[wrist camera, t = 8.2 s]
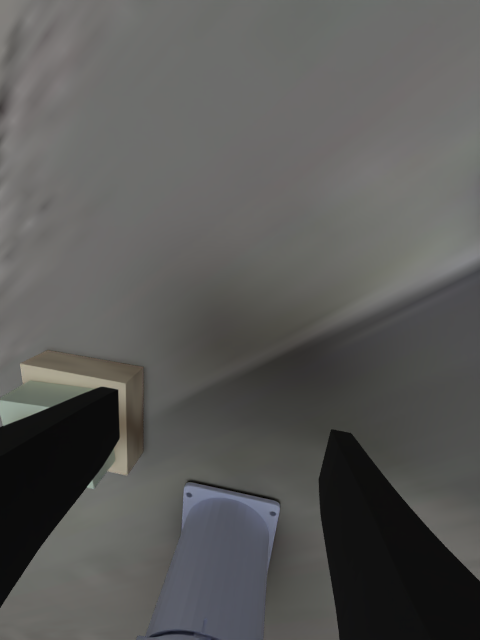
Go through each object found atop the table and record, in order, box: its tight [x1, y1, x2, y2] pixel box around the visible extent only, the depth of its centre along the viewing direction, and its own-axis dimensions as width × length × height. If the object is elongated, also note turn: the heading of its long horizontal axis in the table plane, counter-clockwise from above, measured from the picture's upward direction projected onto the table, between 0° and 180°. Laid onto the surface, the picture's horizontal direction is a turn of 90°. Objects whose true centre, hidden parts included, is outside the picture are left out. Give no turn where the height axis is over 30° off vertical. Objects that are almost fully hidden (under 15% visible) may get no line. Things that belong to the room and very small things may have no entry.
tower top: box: [0, 380, 115, 489], centre depth 20 cm, size 6×6×2 cm
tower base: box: [20, 350, 143, 476], centre depth 22 cm, size 8×8×3 cm
